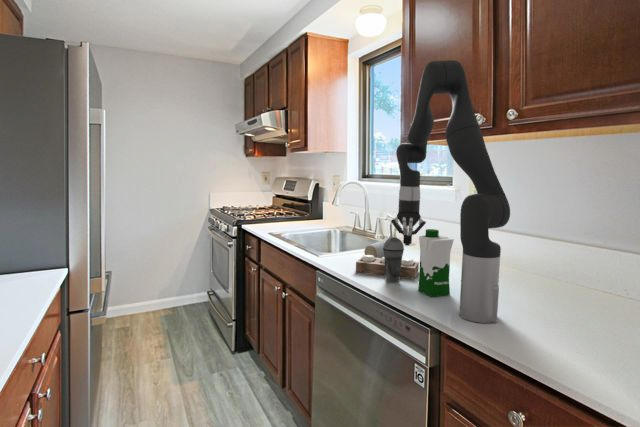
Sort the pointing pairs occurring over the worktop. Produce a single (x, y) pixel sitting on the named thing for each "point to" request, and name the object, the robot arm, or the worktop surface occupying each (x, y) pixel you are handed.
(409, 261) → the button
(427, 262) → the milk carton
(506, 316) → the worktop surface
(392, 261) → the beverage cup
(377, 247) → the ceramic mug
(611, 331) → the worktop surface
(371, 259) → the button
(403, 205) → the robot arm
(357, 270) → the board
